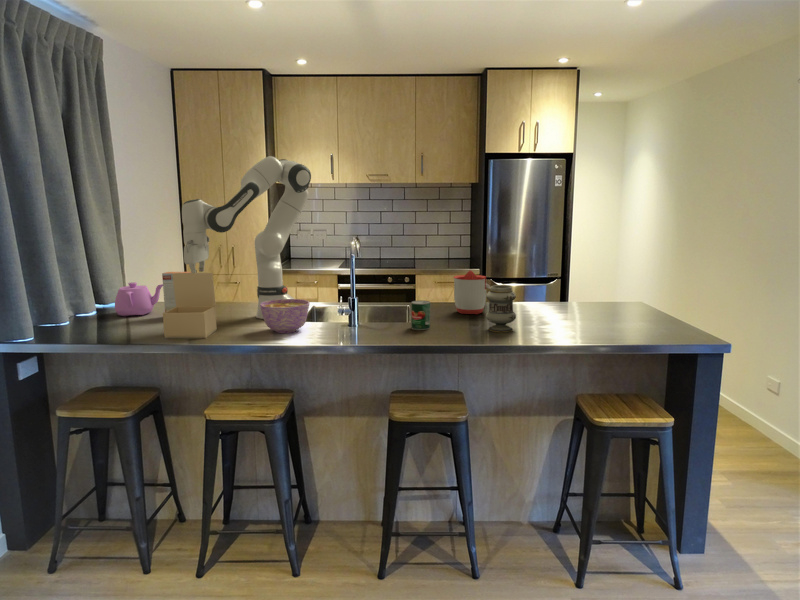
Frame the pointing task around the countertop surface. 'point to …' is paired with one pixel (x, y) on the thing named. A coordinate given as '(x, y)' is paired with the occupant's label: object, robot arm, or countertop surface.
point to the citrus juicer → (470, 293)
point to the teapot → (135, 300)
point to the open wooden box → (189, 322)
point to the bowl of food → (285, 314)
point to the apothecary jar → (501, 307)
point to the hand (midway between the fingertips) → (198, 272)
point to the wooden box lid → (194, 289)
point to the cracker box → (169, 290)
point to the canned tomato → (420, 315)
